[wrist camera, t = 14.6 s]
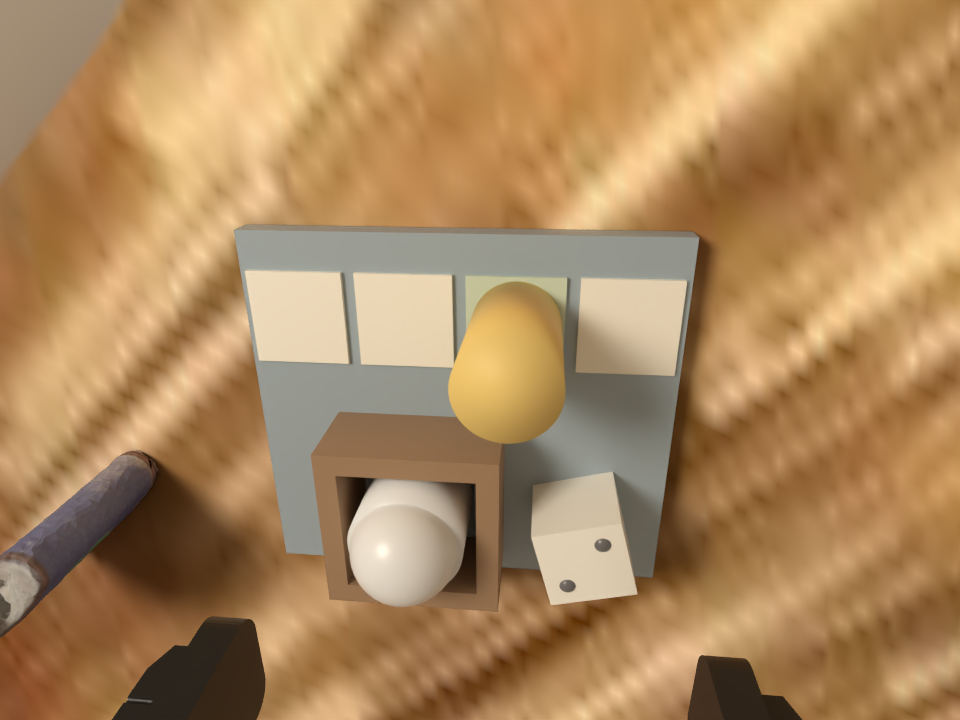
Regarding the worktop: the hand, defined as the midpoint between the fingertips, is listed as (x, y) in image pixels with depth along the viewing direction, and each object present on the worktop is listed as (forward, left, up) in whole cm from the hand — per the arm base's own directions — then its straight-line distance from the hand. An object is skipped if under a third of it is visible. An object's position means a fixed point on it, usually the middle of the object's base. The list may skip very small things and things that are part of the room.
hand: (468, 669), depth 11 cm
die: (+4, -10, -18) cm, 21 cm away
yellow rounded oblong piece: (0, 0, -18) cm, 18 cm away
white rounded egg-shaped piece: (-4, -9, -17) cm, 20 cm away
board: (-2, -5, -19) cm, 20 cm away
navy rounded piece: (-23, -12, -20) cm, 33 cm away
